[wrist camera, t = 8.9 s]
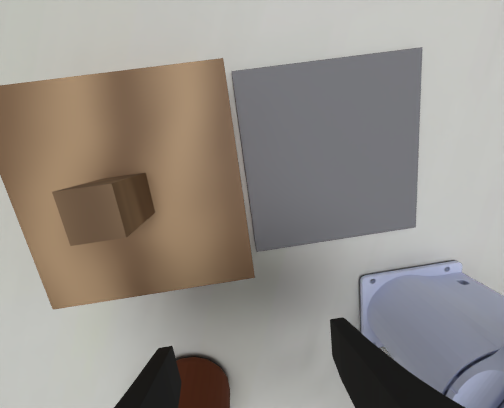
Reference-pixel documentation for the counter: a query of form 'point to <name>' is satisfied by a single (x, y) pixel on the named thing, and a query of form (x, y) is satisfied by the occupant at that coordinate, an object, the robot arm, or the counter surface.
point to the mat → (330, 146)
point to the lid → (126, 181)
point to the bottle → (202, 384)
